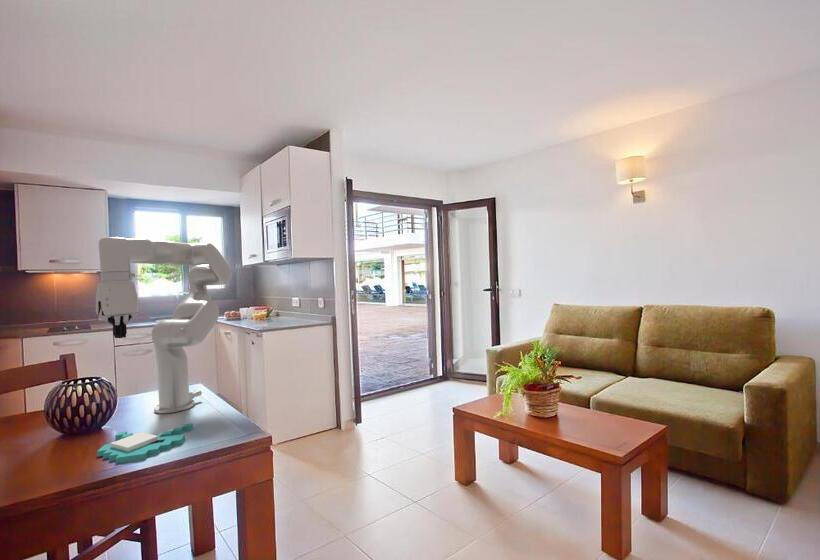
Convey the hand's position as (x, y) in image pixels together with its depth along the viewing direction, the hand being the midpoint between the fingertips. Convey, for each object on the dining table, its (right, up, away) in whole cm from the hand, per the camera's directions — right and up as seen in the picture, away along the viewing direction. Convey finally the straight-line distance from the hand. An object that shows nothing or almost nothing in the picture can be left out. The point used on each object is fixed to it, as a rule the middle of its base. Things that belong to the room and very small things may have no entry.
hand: (120, 337), depth 127 cm
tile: (+15, -27, -10) cm, 32 cm away
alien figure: (+15, -30, -11) cm, 35 cm away
